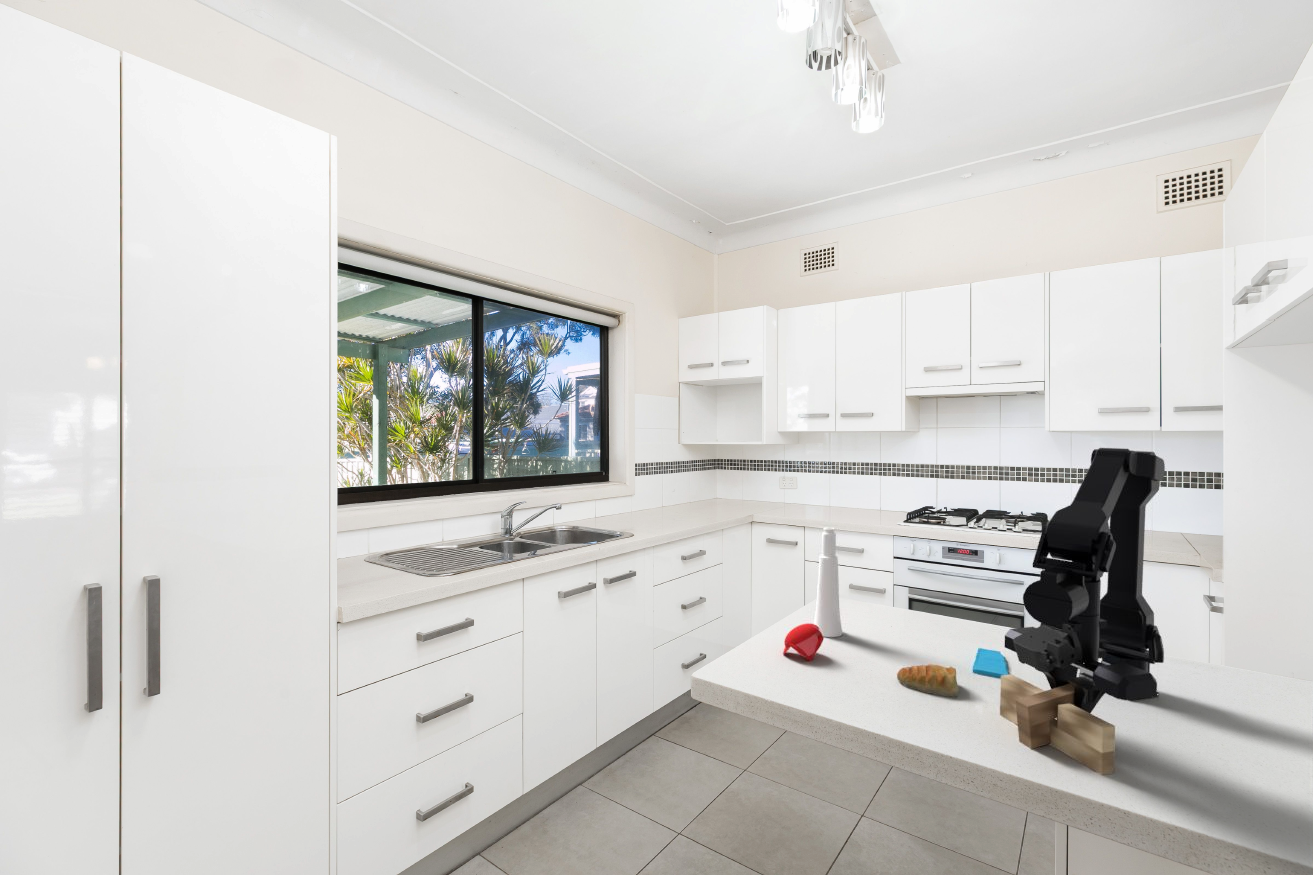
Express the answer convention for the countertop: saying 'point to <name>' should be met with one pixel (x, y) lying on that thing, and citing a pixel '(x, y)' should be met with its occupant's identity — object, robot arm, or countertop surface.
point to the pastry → (930, 679)
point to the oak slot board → (1066, 727)
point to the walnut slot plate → (1040, 714)
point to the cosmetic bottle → (828, 588)
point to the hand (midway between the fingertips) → (1071, 719)
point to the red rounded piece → (804, 640)
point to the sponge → (990, 663)
